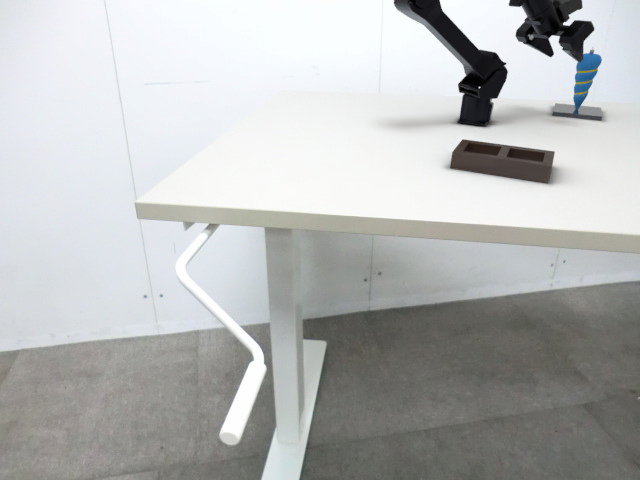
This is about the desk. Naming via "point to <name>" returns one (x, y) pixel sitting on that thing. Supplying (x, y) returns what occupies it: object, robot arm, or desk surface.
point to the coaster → (577, 112)
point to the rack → (503, 160)
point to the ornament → (585, 76)
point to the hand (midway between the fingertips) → (566, 58)
